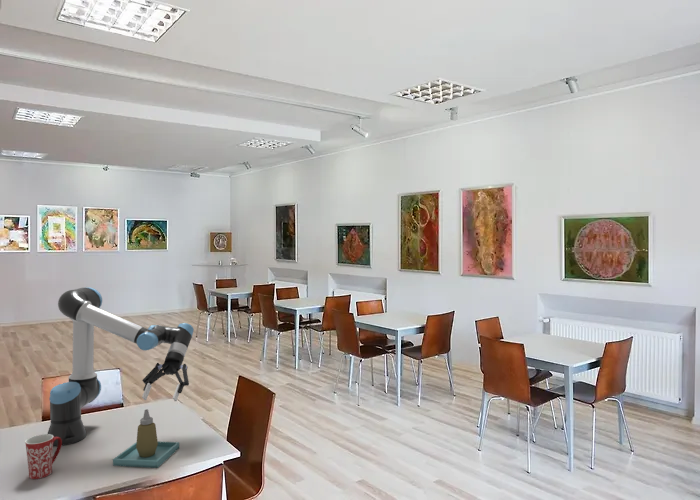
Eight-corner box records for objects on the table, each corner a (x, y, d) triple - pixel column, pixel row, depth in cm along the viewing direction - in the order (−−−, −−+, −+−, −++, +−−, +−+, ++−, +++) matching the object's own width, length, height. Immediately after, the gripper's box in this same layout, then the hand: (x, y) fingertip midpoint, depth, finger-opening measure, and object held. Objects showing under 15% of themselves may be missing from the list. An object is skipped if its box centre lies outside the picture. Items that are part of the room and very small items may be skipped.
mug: (34, 482, 179) (33, 445, 179) (20, 477, 184) (19, 440, 183) (69, 468, 190) (68, 433, 190) (55, 463, 195) (54, 429, 195)
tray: (112, 465, 192) (112, 459, 192) (138, 446, 210) (138, 440, 210) (157, 468, 190) (156, 461, 190) (179, 448, 208) (179, 442, 208)
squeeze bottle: (132, 455, 200) (131, 410, 199) (152, 448, 206) (151, 405, 205) (142, 460, 194) (141, 414, 194) (161, 454, 200) (160, 409, 200)
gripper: (205, 360, 225) (190, 404, 210) (153, 358, 228) (135, 402, 214) (199, 351, 219) (184, 396, 205) (146, 349, 223) (127, 393, 208)
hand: (159, 399), depth 209 cm, fingers open, 13 cm apart
